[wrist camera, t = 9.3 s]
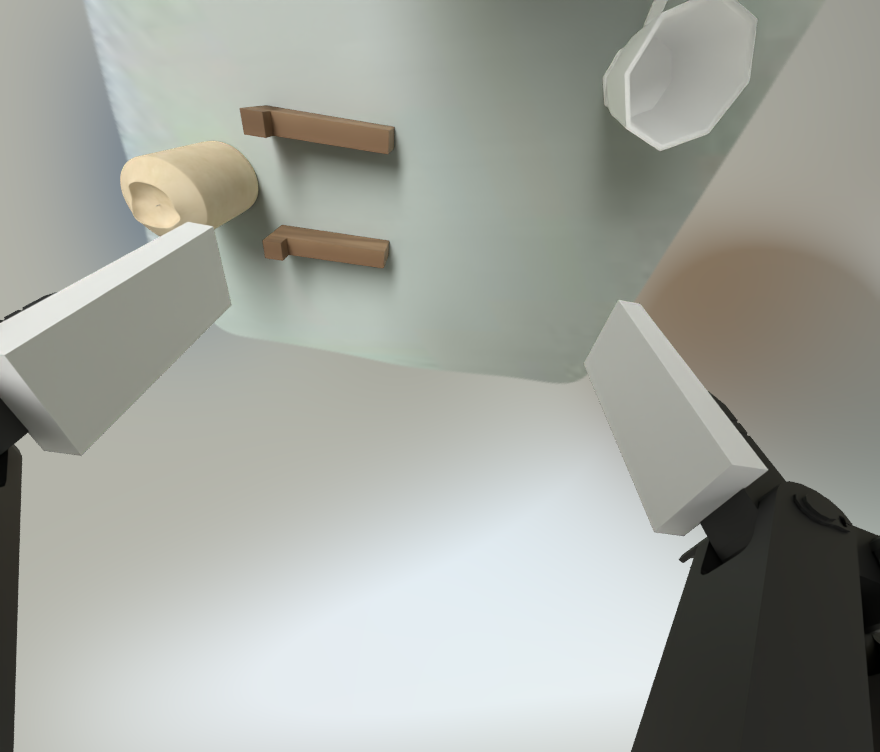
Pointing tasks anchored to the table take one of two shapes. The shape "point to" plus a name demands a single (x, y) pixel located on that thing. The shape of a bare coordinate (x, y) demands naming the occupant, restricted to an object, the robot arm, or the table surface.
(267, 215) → the table surface
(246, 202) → the candle
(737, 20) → the cup
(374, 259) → the wooden stepped bars
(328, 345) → the table surface
